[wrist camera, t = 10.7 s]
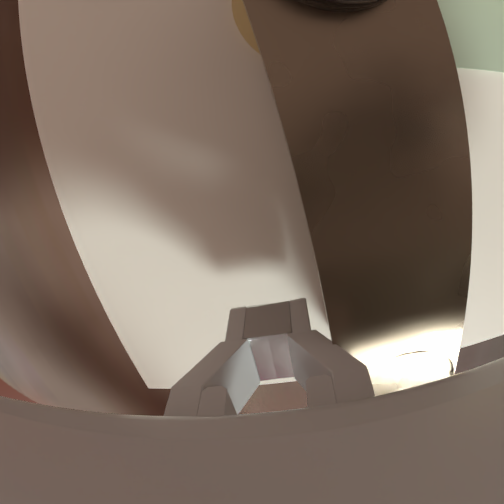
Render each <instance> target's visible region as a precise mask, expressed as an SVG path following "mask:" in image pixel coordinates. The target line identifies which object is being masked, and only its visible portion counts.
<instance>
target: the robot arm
mask: <svg viewBox="0 0 504 504" xmlns="http://www.w3.org/2000/svg"><path fill="white" fill-rule="evenodd" d="M290 377H295V379H296V380H297V381H298V382H299V384H300V385H301V386H302V387H303V388H304V389H305V390H306V391H307V405H308V408H302V409H294V410H285V411H276V412H266V413H254V414H240V415H238V414H239V412H240V411H241V410H242V408H243V407H244V405H245V404H246V402H247V401H248V400H249V398H250V397H251V395H252V394H253V393H254V391H255V390H256V388H257V387H258V385H259V384H260V381H265V380H272V379H280V378H290ZM0 504H504V357H503V358H501V359H498V360H495V361H493V362H490V363H487V364H485V365H482V366H479V367H476V368H474V369H471V370H468V371H465V372H462V373H459V374H456V375H453V376H449V377H446V378H443V379H440V380H436V381H433V382H429V383H426V384H422V385H419V386H415V387H411V388H407V389H403V390H399V391H395V392H391V393H387V394H382V395H378V396H375V393H374V389H373V386H372V382H371V379H370V375H369V372H368V369H367V366H366V365H365V364H363V363H362V362H360V361H359V360H357V359H356V358H355V357H353V356H352V355H350V354H349V353H348V352H346V351H345V350H343V349H342V348H341V347H339V346H338V345H336V344H332V341H331V340H330V339H328V338H327V337H325V336H324V335H323V334H321V333H320V332H318V331H317V330H311V326H310V320H309V314H308V308H307V302H306V298H299V299H294V300H290V302H289V301H285V302H278V303H269V304H261V305H253V306H247V307H246V306H244V307H237V308H231V310H230V312H229V319H228V325H227V331H226V337H225V341H224V342H220V343H219V344H218V345H217V346H215V347H214V348H213V349H212V350H211V351H210V352H209V353H208V354H207V355H206V356H205V357H204V358H203V359H202V360H201V361H199V362H198V363H197V364H196V365H195V366H194V367H193V368H192V369H191V370H190V371H189V372H188V373H186V374H185V375H184V376H183V377H182V378H181V379H180V380H179V381H178V382H177V383H175V384H174V385H173V386H172V387H171V391H170V394H169V398H168V401H167V405H166V408H165V412H164V415H163V416H146V415H127V414H113V413H102V412H92V411H83V410H75V409H67V408H60V407H54V406H48V405H42V404H36V403H30V402H26V401H20V400H16V399H11V398H6V397H2V396H0Z"/></svg>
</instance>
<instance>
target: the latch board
mask: <svg viewBox="0 0 504 504" xmlns="http://www.w3.org/2000/svg"><path fill="white" fill-rule="evenodd" d="M437 2H438V5H439V8H440V11H441V14H442V17H443V20H444V23H445V26H446V30H447V33H448V37H449V40H450V44H451V48H452V51H453V55H454V60H455V64H456V68H457V73H458V77H459V82H460V87H461V93H462V98H463V104H464V110H465V117H466V124H467V132H468V141H469V151H470V163H471V179H472V250H471V266H470V279H469V289H468V298H467V306H466V313H465V320H464V326H463V332H462V338H461V344H460V348H463V347H466V346H469V345H473V344H476V343H479V342H482V341H485V340H488V339H492V338H495V337H498V336H500V335H503V334H504V0H437ZM18 7H19V21H20V32H21V41H22V49H23V57H24V64H25V70H26V76H27V82H28V87H29V93H30V98H31V102H32V107H33V112H34V116H35V120H36V125H37V129H38V133H39V137H40V141H41V144H42V148H43V152H44V155H45V159H46V162H47V166H48V169H49V172H50V175H51V179H52V182H53V185H54V188H55V191H56V194H57V197H58V200H59V203H60V206H61V208H62V211H63V214H64V217H65V219H66V222H67V225H68V227H69V230H70V233H71V235H72V238H73V240H74V243H75V245H76V248H77V250H78V252H79V255H80V257H81V260H82V262H83V264H84V267H85V269H86V271H87V273H88V276H89V278H90V280H91V282H92V284H93V287H94V289H95V291H96V293H97V295H98V297H99V299H100V301H101V303H102V305H103V307H104V310H105V312H106V314H107V315H108V317H109V319H110V321H111V323H112V325H113V327H114V329H115V331H116V333H117V335H118V337H119V338H120V340H121V342H122V344H123V346H124V348H125V349H126V351H127V353H128V355H129V356H130V358H131V360H132V362H133V363H134V365H135V367H136V369H137V370H138V372H139V374H140V375H141V377H142V379H143V380H144V382H145V384H146V385H147V387H148V388H149V389H171V387H172V386H173V385H174V384H175V383H177V382H178V381H179V380H180V379H181V378H182V377H183V376H184V375H185V374H186V373H188V372H189V371H190V370H191V369H192V368H193V367H194V366H195V365H196V364H197V363H198V362H199V361H201V360H202V359H203V358H204V357H205V356H206V355H207V354H208V353H209V352H210V351H211V350H212V349H213V348H214V347H215V346H217V345H218V344H219V343H220V342H224V341H225V337H226V331H227V325H228V319H229V312H230V310H231V308H237V307H244V306H246V307H247V306H253V305H261V304H269V303H278V302H285V301H289V302H290V300H294V299H299V298H306V302H307V308H308V314H309V320H310V326H311V330H317V331H318V332H320V333H321V334H323V335H324V336H325V337H327V338H328V339H330V340H331V336H330V331H329V326H328V321H327V316H326V310H325V305H324V300H323V295H322V290H321V286H320V281H319V276H318V271H317V267H316V262H315V257H314V253H313V248H312V244H311V239H310V235H309V231H308V226H307V222H306V218H305V214H304V210H303V205H302V201H301V197H300V193H299V189H298V185H297V181H296V177H295V173H294V170H293V166H292V162H291V158H290V154H289V151H288V147H287V143H286V140H285V136H284V132H283V129H282V125H281V122H280V118H279V114H278V111H277V108H276V104H275V101H274V97H273V94H272V91H271V87H270V84H269V81H268V77H267V74H266V71H265V68H264V64H263V61H262V58H261V55H260V52H259V49H258V46H257V43H256V39H255V36H254V33H253V30H252V27H251V24H250V22H249V19H248V16H247V13H246V10H245V7H244V4H243V1H242V0H18ZM292 381H297V380H296V379H295V377H290V378H280V379H272V380H265V381H260V384H259V385H262V384H273V383H283V382H292Z"/></svg>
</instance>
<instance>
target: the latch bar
mask: <svg viewBox="0 0 504 504" xmlns="http://www.w3.org/2000/svg"><path fill="white" fill-rule="evenodd" d="M242 1H243V4H244V7H245V10H246V13H247V16H248V19H249V22H250V24H251V27H252V30H253V33H254V36H255V39H256V43H257V46H258V49H259V52H260V55H261V58H262V61H263V64H264V68H265V71H266V74H267V77H268V81H269V84H270V87H271V91H272V94H273V97H274V101H275V104H276V108H277V111H278V114H279V118H280V122H281V125H282V129H283V132H284V136H285V140H286V143H287V147H288V151H289V154H290V158H291V162H292V166H293V170H294V173H295V177H296V181H297V185H298V189H299V193H300V197H301V201H302V205H303V210H304V214H305V218H306V222H307V226H308V231H309V235H310V239H311V244H312V248H313V253H314V257H315V262H316V267H317V271H318V276H319V281H320V286H321V290H322V295H323V300H324V305H325V310H326V316H327V321H328V326H329V331H330V336H331V341H332V344H336V345H338V346H339V347H341V348H342V349H343V350H345V351H346V352H348V353H349V354H350V355H352V356H353V357H355V358H356V359H357V360H359V361H360V362H362V363H363V364H365V365H366V366H367V369H368V372H369V375H370V379H371V382H372V386H373V389H374V393H375V396H378V395H382V394H387V393H391V392H395V391H399V390H403V389H407V388H411V387H415V386H419V385H422V384H426V383H429V382H433V381H436V380H440V379H443V378H446V377H449V376H453V375H454V372H455V368H456V363H457V359H458V354H459V349H460V344H461V338H462V332H463V326H464V320H465V313H466V306H467V298H468V289H469V279H470V266H471V250H472V179H471V163H470V151H469V141H468V132H467V124H466V117H465V110H464V104H463V98H462V93H461V87H460V82H459V77H458V73H457V68H456V64H455V60H454V55H453V51H452V48H451V44H450V40H449V37H448V33H447V30H446V26H445V23H444V20H443V17H442V14H441V11H440V8H439V5H438V2H437V0H242Z"/></svg>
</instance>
